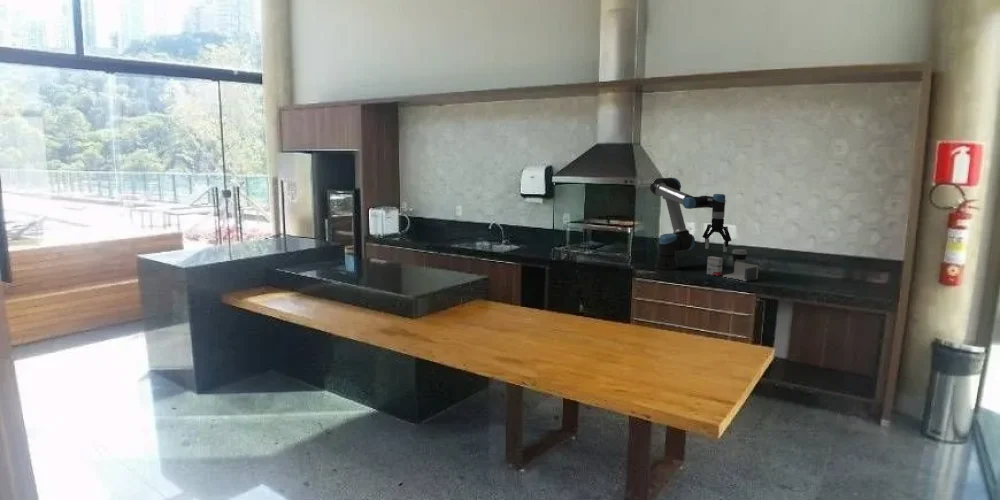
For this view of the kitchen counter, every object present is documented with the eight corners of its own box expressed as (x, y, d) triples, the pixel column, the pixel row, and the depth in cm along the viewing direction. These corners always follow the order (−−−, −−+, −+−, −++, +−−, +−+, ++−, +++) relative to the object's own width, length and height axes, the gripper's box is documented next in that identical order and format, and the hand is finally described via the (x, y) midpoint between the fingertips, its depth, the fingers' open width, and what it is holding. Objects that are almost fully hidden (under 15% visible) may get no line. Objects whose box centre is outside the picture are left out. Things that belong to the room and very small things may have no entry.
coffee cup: (730, 273, 387) (731, 250, 384) (730, 270, 396) (732, 248, 393) (745, 274, 384) (747, 251, 381) (745, 271, 392) (747, 249, 389)
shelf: (722, 277, 375) (723, 263, 373) (735, 274, 382) (736, 261, 380) (745, 282, 362) (746, 268, 360) (757, 279, 369) (758, 265, 367)
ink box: (722, 275, 381) (723, 257, 379) (718, 276, 378) (719, 258, 376) (710, 273, 387) (711, 255, 385) (706, 274, 384) (707, 256, 382)
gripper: (698, 216, 384) (696, 248, 388) (731, 220, 363) (729, 253, 367) (705, 215, 388) (703, 246, 392) (738, 219, 368) (736, 252, 372)
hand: (715, 250), depth 380 cm, fingers open, 13 cm apart
